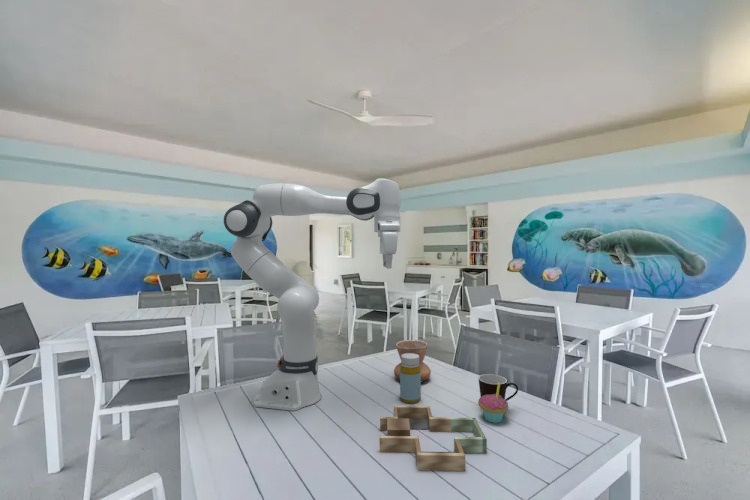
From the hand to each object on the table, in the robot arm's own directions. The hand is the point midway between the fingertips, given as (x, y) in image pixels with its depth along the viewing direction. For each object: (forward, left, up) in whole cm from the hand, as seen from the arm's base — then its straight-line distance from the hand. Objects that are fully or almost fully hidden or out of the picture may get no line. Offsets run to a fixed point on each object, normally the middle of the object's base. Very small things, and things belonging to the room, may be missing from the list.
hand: (387, 267), depth 115 cm
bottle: (+8, +2, -46) cm, 46 cm away
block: (+3, -23, -46) cm, 51 cm away
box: (+11, -23, -45) cm, 52 cm away
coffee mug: (+35, -6, -46) cm, 58 cm away
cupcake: (+32, -11, -46) cm, 57 cm away
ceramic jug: (+10, +20, -46) cm, 51 cm away
